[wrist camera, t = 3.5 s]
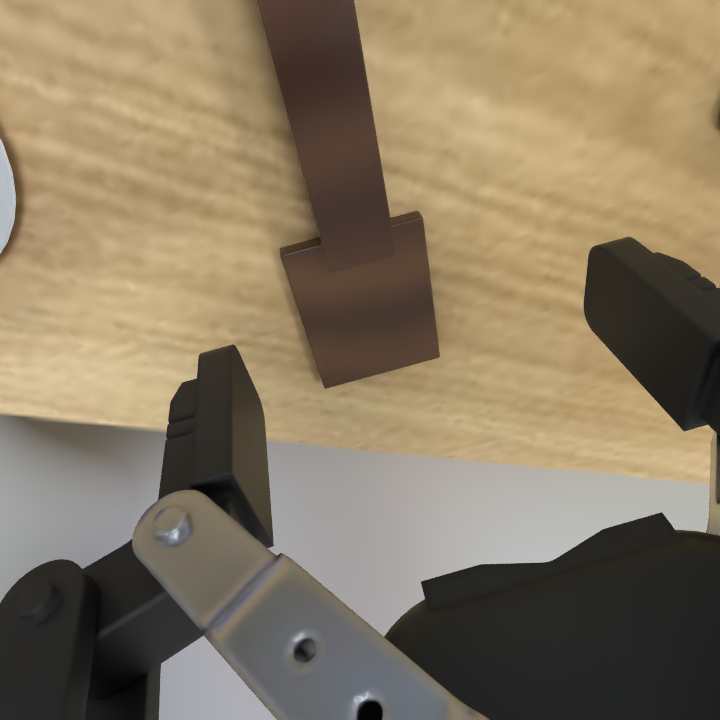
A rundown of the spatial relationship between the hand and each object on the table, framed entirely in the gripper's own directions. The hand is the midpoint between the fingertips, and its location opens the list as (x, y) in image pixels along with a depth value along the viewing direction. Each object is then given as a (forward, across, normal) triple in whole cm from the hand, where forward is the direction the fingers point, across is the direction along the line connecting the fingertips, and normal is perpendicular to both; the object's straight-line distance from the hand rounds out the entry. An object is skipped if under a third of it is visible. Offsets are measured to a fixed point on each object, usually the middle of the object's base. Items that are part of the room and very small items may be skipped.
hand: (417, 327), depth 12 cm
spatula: (+14, 0, +1) cm, 14 cm away
